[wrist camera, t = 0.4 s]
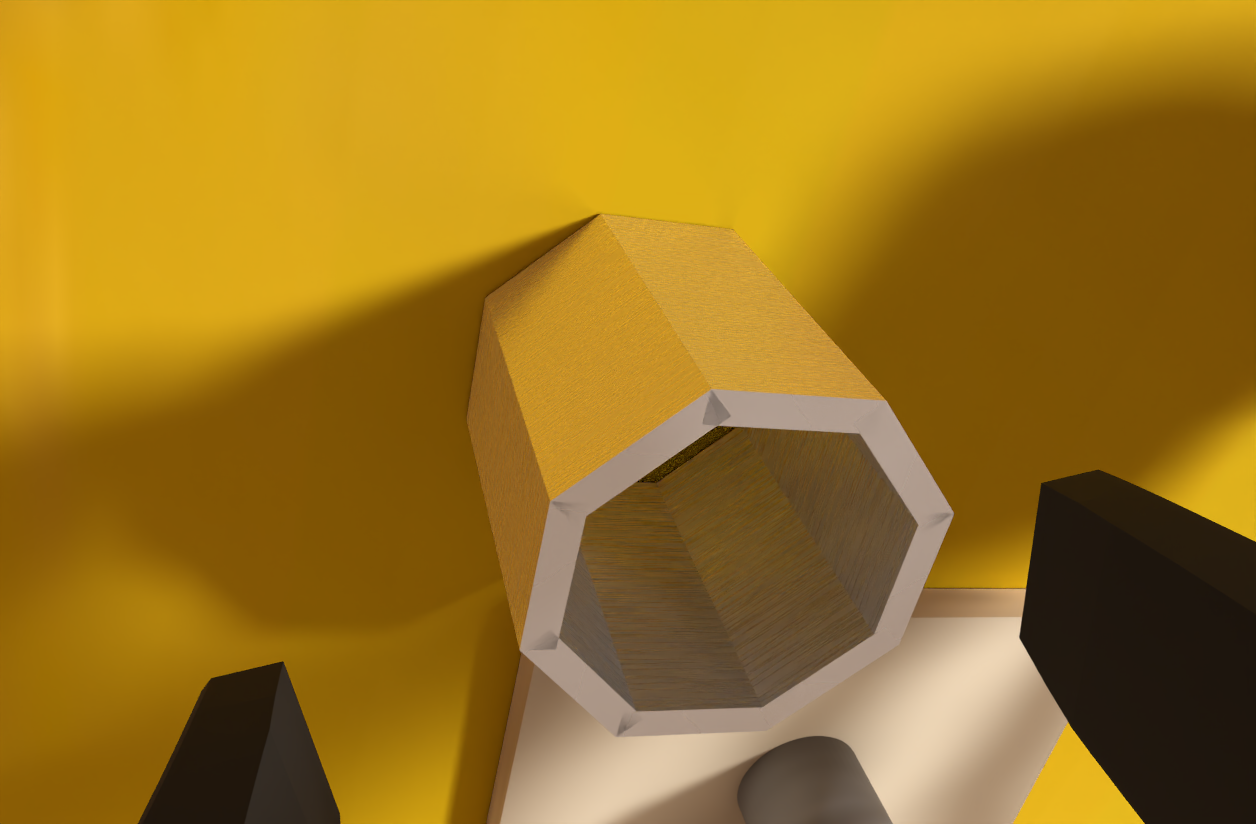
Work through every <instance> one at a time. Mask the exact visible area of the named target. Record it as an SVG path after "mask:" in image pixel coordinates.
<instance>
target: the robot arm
mask: <svg viewBox="0 0 1256 824" xmlns="http://www.w3.org/2000/svg"><path fill="white" fill-rule="evenodd" d="M1019 638H1020V640H1021V642H1022V644H1023V646H1024V647H1025V649H1026V651H1027V653H1028V654H1029V656H1030V658H1031V660H1032V661H1033V663H1034V665H1035V667H1036V669H1037V670H1038V672H1039V674H1040V676H1041V677H1042V679H1043V681H1044V683H1045V685H1046V686H1047V688H1048V690H1049V691H1050V693H1051V695H1052V696H1053V698H1054V699H1055V701H1056V703H1057V704H1058V706H1059V708H1060V709H1061V711H1062V713H1063V714H1064V716H1065V718H1066V719H1067V721H1068V722H1069V724H1070V726H1071V727H1072V729H1073V730H1074V731H1075V733H1076V734H1077V735H1078V737H1079V738H1080V740H1081V741H1082V742H1083V744H1084V745H1085V746H1086V748H1087V749H1088V750H1089V752H1090V753H1091V754H1092V756H1093V757H1094V758H1095V759H1096V761H1097V762H1098V763H1099V765H1100V766H1101V767H1102V769H1103V770H1104V771H1105V773H1106V774H1107V775H1108V776H1109V778H1110V779H1111V780H1112V782H1113V783H1114V784H1115V786H1116V787H1117V788H1118V790H1119V791H1120V792H1121V793H1122V795H1123V796H1124V797H1125V799H1126V800H1127V801H1128V803H1129V804H1130V805H1131V806H1132V808H1133V809H1134V810H1135V812H1136V813H1137V814H1138V815H1139V817H1140V818H1141V819H1142V821H1143V822H1144V823H1145V824H1256V542H1255V541H1253V540H1251V539H1249V538H1246V537H1244V536H1242V535H1240V534H1238V533H1236V532H1234V531H1232V530H1230V529H1228V528H1226V527H1223V526H1221V525H1219V524H1217V523H1215V522H1213V521H1211V520H1209V519H1207V518H1205V517H1202V516H1200V515H1198V514H1196V513H1194V512H1192V511H1190V510H1188V509H1186V508H1183V507H1181V506H1179V505H1177V504H1175V503H1173V502H1171V501H1169V500H1166V499H1164V498H1162V497H1160V496H1158V495H1156V494H1154V493H1151V492H1149V491H1147V490H1145V489H1143V488H1140V487H1138V486H1136V485H1134V484H1131V483H1129V482H1127V481H1125V480H1122V479H1120V478H1117V477H1115V476H1113V475H1110V474H1108V473H1105V472H1103V471H1100V470H1095V471H1091V472H1086V473H1082V474H1078V475H1074V476H1069V477H1065V478H1061V479H1057V480H1052V481H1048V482H1044V483H1041V489H1040V496H1039V503H1038V510H1037V517H1036V524H1035V531H1034V538H1033V545H1032V552H1031V559H1030V566H1029V572H1028V579H1027V586H1026V593H1025V600H1024V607H1023V614H1022V621H1021V628H1020V635H1019ZM138 824H340V813H339V810H338V808H337V805H336V802H335V800H334V797H333V794H332V791H331V789H330V786H329V783H328V781H327V778H326V775H325V773H324V770H323V767H322V764H321V762H320V759H319V756H318V754H317V751H316V748H315V746H314V743H313V740H312V738H311V735H310V732H309V729H308V727H307V724H306V721H305V719H304V716H303V713H302V711H301V708H300V705H299V702H298V700H297V697H296V694H295V692H294V689H293V686H292V684H291V681H290V678H289V675H288V673H287V670H286V667H285V665H284V662H279V663H274V664H270V665H266V666H262V667H257V668H253V669H249V670H245V671H240V672H236V673H232V674H228V675H223V676H219V677H215V678H211V679H210V681H209V682H208V683H207V685H206V686H205V687H204V689H203V690H202V691H201V693H200V696H199V698H198V700H197V702H196V704H195V706H194V709H193V711H192V713H191V715H190V717H189V720H188V722H187V724H186V726H185V728H184V730H183V732H182V735H181V737H180V739H179V741H178V743H177V745H176V747H175V749H174V752H173V754H172V756H171V758H170V760H169V762H168V764H167V766H166V768H165V770H164V772H163V774H162V776H161V778H160V781H159V783H158V785H157V787H156V789H155V791H154V793H153V795H152V797H151V799H150V801H149V803H148V805H147V807H146V809H145V811H144V813H143V815H142V817H141V819H140V821H139V823H138Z"/></svg>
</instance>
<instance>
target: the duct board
mask: <svg viewBox="0 0 1256 824" xmlns="http://www.w3.org/2000/svg"><path fill="white" fill-rule="evenodd" d="M1025 593H1026V589H933V588H923V589H922V591H921V594H920V596H919V599H918V601H917V603H916V606H915V608H914V610H913V613H912V615H911V618H910V620H909V622H908V625H907V627H906V629H905V632H904V634H903V637H902V639H901V641H900V644H899V645H898V646H896V647H895V648H893V649H892V650H890V651H889V652H887V653H886V654H884V655H882V656H881V657H879V658H878V659H876V660H875V661H873V662H872V663H870V664H869V665H867V666H866V667H864V668H862V669H861V670H859V671H858V672H856V673H855V674H853V675H852V676H850V677H849V678H847V679H846V680H844V681H842V682H841V683H839V684H838V685H836V686H835V687H833V688H832V689H830V690H829V691H827V692H825V693H824V694H822V695H821V696H819V697H818V698H816V699H815V700H813V701H812V702H810V703H809V704H807V705H805V706H804V707H802V708H801V709H799V710H798V711H796V712H795V713H793V714H792V715H790V716H789V717H787V718H785V719H784V720H782V721H781V722H779V723H778V724H776V725H775V726H773V727H772V728H770V729H769V730H767V731H754V732H730V733H706V734H682V735H658V736H634V737H615V736H614V735H613V734H612V733H611V732H610V731H609V730H607V729H606V728H605V727H604V726H603V725H602V724H601V723H600V722H599V721H597V720H596V719H595V718H594V717H593V716H592V715H591V714H590V713H589V712H587V711H586V710H585V709H584V708H583V707H582V706H581V705H580V704H579V703H577V702H576V701H575V700H574V699H573V698H572V697H571V696H570V695H569V694H568V693H566V692H565V691H564V690H563V689H562V688H561V687H560V686H559V685H558V684H556V683H555V682H554V681H553V680H552V679H551V678H550V677H549V676H548V675H546V674H545V673H544V672H543V671H542V670H541V669H540V668H539V667H538V666H536V665H535V664H534V663H533V662H532V661H531V660H530V659H529V658H528V657H527V656H525V655H524V654H523V653H521V658H520V663H519V668H518V673H517V677H516V682H515V687H514V692H513V697H512V702H511V706H510V711H509V716H508V721H507V726H506V731H505V735H504V740H503V745H502V750H501V755H500V759H499V764H498V769H497V774H496V779H495V784H494V788H493V793H492V798H491V803H490V808H489V813H488V817H487V822H486V824H1013V822H1014V820H1015V818H1016V817H1017V815H1018V813H1019V811H1020V809H1021V807H1022V806H1023V804H1024V802H1025V800H1026V798H1027V796H1028V794H1029V793H1030V791H1031V789H1032V787H1033V785H1034V783H1035V782H1036V780H1037V778H1038V776H1039V774H1040V772H1041V770H1042V769H1043V767H1044V765H1045V763H1046V761H1047V759H1048V758H1049V756H1050V754H1051V752H1052V750H1053V748H1054V746H1055V745H1056V743H1057V741H1058V739H1059V737H1060V735H1061V734H1062V732H1063V730H1064V728H1065V726H1066V724H1067V723H1068V721H1067V719H1066V718H1065V716H1064V714H1063V713H1062V711H1061V709H1060V708H1059V706H1058V704H1057V703H1056V701H1055V699H1054V698H1053V696H1052V695H1051V693H1050V691H1049V690H1048V688H1047V686H1046V685H1045V683H1044V681H1043V679H1042V677H1041V676H1040V674H1039V672H1038V670H1037V669H1036V667H1035V665H1034V663H1033V661H1032V660H1031V658H1030V656H1029V654H1028V653H1027V651H1026V649H1025V647H1024V646H1023V644H1022V642H1021V640H1020V638H1019V635H1020V628H1021V621H1022V614H1023V607H1024V600H1025Z"/></svg>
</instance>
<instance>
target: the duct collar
mask: <svg viewBox="0 0 1256 824" xmlns="http://www.w3.org/2000/svg"><path fill="white" fill-rule="evenodd" d="M466 420H467V425H468V429H469V433H470V438H471V442H472V446H473V451H474V455H475V459H476V464H477V468H478V472H479V477H480V481H481V485H482V490H483V494H484V498H485V503H486V507H487V511H488V516H489V520H490V524H491V529H492V533H493V537H494V542H495V546H496V550H497V555H498V559H499V563H500V567H501V572H502V576H503V580H504V585H505V589H506V593H507V598H508V602H509V606H510V611H511V615H512V619H513V624H514V628H515V632H516V637H517V641H518V645H519V650H520V651H521V652H522V653H523V654H524V655H525V656H527V657H528V658H529V659H530V660H531V661H532V662H533V663H534V664H535V665H536V666H538V667H539V668H540V669H541V670H542V671H543V672H544V673H545V674H546V675H548V676H549V677H550V678H551V679H552V680H553V681H554V682H555V683H556V684H558V685H559V686H560V687H561V688H562V689H563V690H564V691H565V692H566V693H568V694H569V695H570V696H571V697H572V698H573V699H574V700H575V701H576V702H577V703H579V704H580V705H581V706H582V707H583V708H584V709H585V710H586V711H587V712H589V713H590V714H591V715H592V716H593V717H594V718H595V719H596V720H597V721H599V722H600V723H601V724H602V725H603V726H604V727H605V728H606V729H607V730H609V731H610V732H611V733H612V734H613V735H614V736H615V737H634V736H658V735H682V734H706V733H730V732H754V731H767V730H769V729H770V728H772V727H773V726H775V725H776V724H778V723H779V722H781V721H782V720H784V719H785V718H787V717H789V716H790V715H792V714H793V713H795V712H796V711H798V710H799V709H801V708H802V707H804V706H805V705H807V704H809V703H810V702H812V701H813V700H815V699H816V698H818V697H819V696H821V695H822V694H824V693H825V692H827V691H829V690H830V689H832V688H833V687H835V686H836V685H838V684H839V683H841V682H842V681H844V680H846V679H847V678H849V677H850V676H852V675H853V674H855V673H856V672H858V671H859V670H861V669H862V668H864V667H866V666H867V665H869V664H870V663H872V662H873V661H875V660H876V659H878V658H879V657H881V656H882V655H884V654H886V653H887V652H889V651H890V650H892V649H893V648H895V647H896V646H898V645H899V644H900V641H901V639H902V637H903V634H904V632H905V629H906V627H907V625H908V622H909V620H910V618H911V615H912V613H913V610H914V608H915V606H916V603H917V601H918V599H919V596H920V594H921V591H922V589H923V587H924V584H925V582H926V580H927V577H928V575H929V573H930V570H931V568H932V565H933V563H934V561H935V558H936V556H937V554H938V551H939V549H940V546H941V544H942V542H943V539H944V537H945V535H946V532H947V530H948V527H949V525H950V523H951V520H952V518H953V516H954V512H953V510H952V509H951V507H950V505H949V504H948V502H947V500H946V499H945V497H944V495H943V494H942V492H941V491H940V489H939V487H938V486H937V484H936V482H935V481H934V479H933V477H932V476H931V474H930V472H929V471H928V469H927V467H926V466H925V464H924V462H923V461H922V459H921V457H920V456H919V454H918V452H917V451H916V449H915V447H914V446H913V444H912V442H911V441H910V439H909V437H908V436H907V434H906V432H905V431H904V429H903V427H902V426H901V424H900V423H899V421H898V419H897V418H896V416H895V414H894V413H893V411H892V409H891V408H890V406H889V404H888V403H887V401H886V400H885V399H884V398H883V396H882V395H881V394H880V393H879V392H878V391H877V390H876V389H875V387H874V386H873V385H872V384H871V383H870V382H869V381H868V380H867V379H866V377H865V376H864V375H863V374H862V373H861V372H860V371H859V370H858V369H857V367H856V366H855V365H854V364H853V363H852V362H851V361H850V360H849V358H848V357H847V356H846V355H845V354H844V353H843V352H842V351H841V350H840V348H839V347H838V346H837V345H836V344H835V343H834V342H833V341H832V339H831V338H830V337H829V336H828V335H827V334H826V333H825V332H824V331H823V329H822V328H821V327H820V326H819V325H818V324H817V323H816V322H815V320H814V319H813V318H812V317H811V316H810V315H809V314H808V313H807V312H806V310H805V309H804V308H803V307H802V306H801V305H800V304H799V303H798V301H797V300H796V299H795V298H794V297H793V296H792V295H791V294H790V293H789V291H788V290H787V289H786V288H785V287H784V286H783V285H782V284H781V282H780V281H779V280H778V279H777V278H776V277H775V276H774V275H773V274H772V272H771V271H770V270H769V269H768V268H767V267H766V266H765V265H764V263H763V262H762V261H761V260H760V259H759V258H758V257H757V256H756V255H755V253H754V252H753V251H752V250H751V249H750V248H749V247H748V246H747V244H746V243H745V242H744V241H743V240H742V239H741V238H740V237H739V236H738V234H737V233H736V232H735V231H734V230H733V229H725V228H716V227H708V226H700V225H691V224H683V223H674V222H666V221H657V220H649V219H640V218H632V217H623V216H615V215H606V214H600V215H598V216H597V217H596V218H594V219H593V220H591V221H590V222H589V223H587V224H586V225H585V226H583V227H582V228H580V229H579V230H578V231H576V232H575V233H574V234H572V235H571V236H569V237H568V238H567V239H565V240H564V241H563V242H561V243H560V244H558V245H557V246H556V247H554V248H553V249H552V250H550V251H549V252H547V253H546V254H545V255H543V256H542V257H541V258H539V259H538V260H536V261H535V262H534V263H532V264H531V265H530V266H528V267H527V268H525V269H524V270H523V271H521V272H520V273H519V274H517V275H516V276H514V277H513V278H512V279H510V280H509V281H508V282H506V283H505V284H503V285H502V286H501V287H499V288H498V289H497V290H495V291H494V292H492V293H491V294H490V295H488V296H487V297H486V298H485V303H484V309H483V316H482V322H481V328H480V335H479V341H478V348H477V354H476V361H475V367H474V374H473V380H472V387H471V393H470V400H469V406H468V413H467V419H466ZM716 426H734V427H736V428H735V429H734V430H732V431H731V432H729V433H728V434H726V435H725V436H723V437H722V438H721V439H719V440H718V441H716V442H715V443H713V444H712V445H710V446H709V447H707V448H706V449H705V450H703V451H702V452H700V453H699V454H697V455H696V456H694V457H693V458H691V459H690V460H689V461H687V462H686V463H684V464H683V465H681V466H680V467H678V468H677V469H676V470H674V471H673V472H671V473H670V474H668V475H667V476H665V477H664V478H662V479H661V480H660V481H658V482H657V483H646V482H637V481H638V480H639V479H641V478H642V477H644V476H645V475H647V474H648V473H650V472H651V471H652V470H654V469H655V468H657V467H658V466H660V465H661V464H663V463H664V462H665V461H667V460H668V459H670V458H671V457H673V456H674V455H676V454H677V453H678V452H680V451H681V450H683V449H684V448H686V447H687V446H689V445H690V444H692V443H693V442H694V441H696V440H697V439H699V438H700V437H702V436H703V435H705V434H706V433H707V432H709V431H710V430H712V429H713V428H715V427H716Z"/></svg>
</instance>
